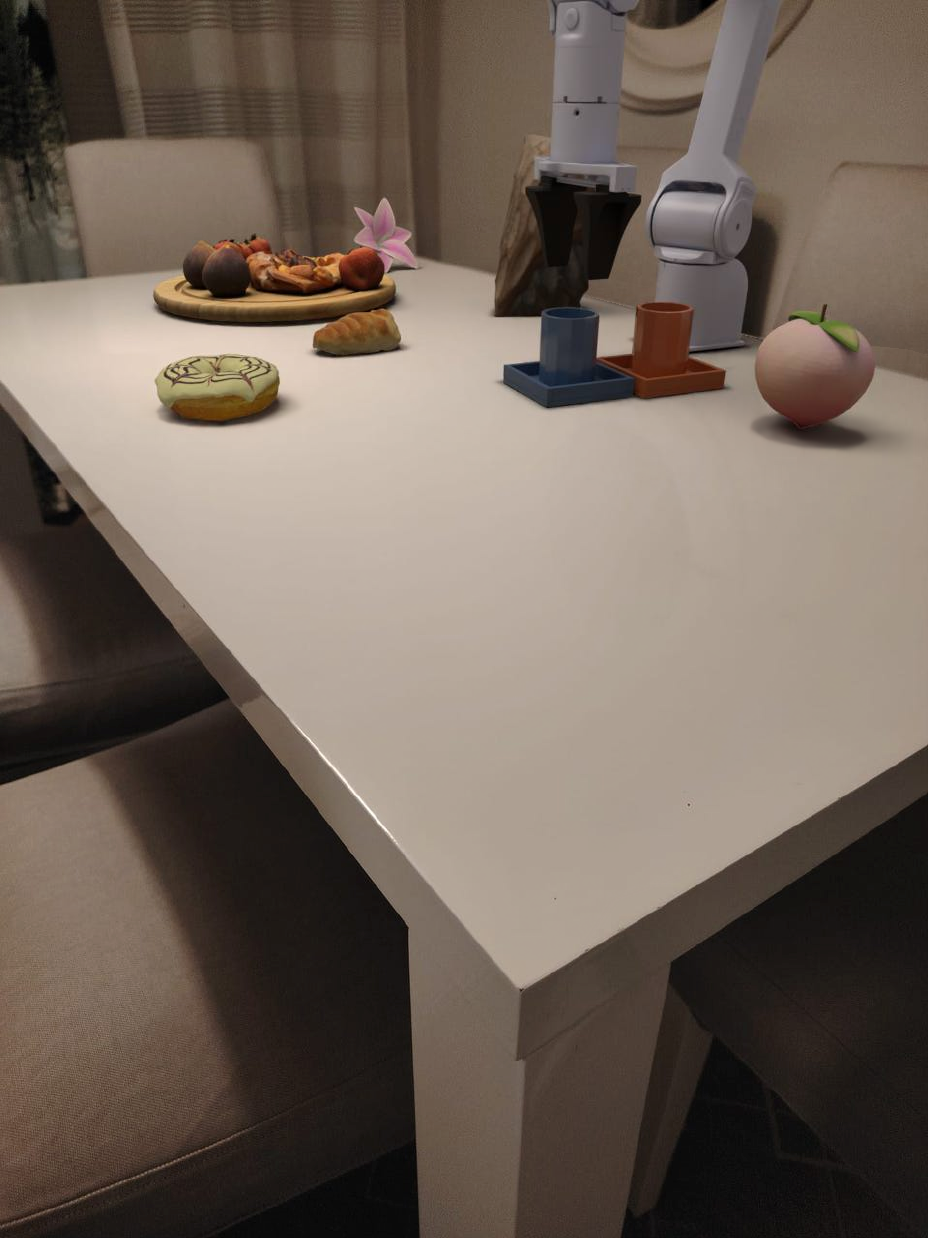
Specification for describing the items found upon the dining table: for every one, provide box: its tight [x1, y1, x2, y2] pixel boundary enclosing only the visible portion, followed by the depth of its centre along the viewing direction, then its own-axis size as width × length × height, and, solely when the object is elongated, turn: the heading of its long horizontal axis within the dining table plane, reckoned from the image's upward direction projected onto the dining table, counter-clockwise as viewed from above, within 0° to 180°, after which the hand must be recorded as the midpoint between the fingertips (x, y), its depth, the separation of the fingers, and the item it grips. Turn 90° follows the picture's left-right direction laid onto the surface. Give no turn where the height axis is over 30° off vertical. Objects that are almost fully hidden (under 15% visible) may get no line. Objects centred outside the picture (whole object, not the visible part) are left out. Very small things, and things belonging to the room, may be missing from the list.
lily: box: [353, 197, 419, 274], centre depth 145 cm, size 12×12×10 cm
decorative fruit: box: [754, 303, 876, 429], centre depth 73 cm, size 9×8×10 cm
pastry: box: [312, 308, 402, 356], centre depth 98 cm, size 9×7×4 cm
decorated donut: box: [154, 353, 281, 422], centre depth 79 cm, size 10×11×4 cm
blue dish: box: [502, 360, 634, 408], centre depth 85 cm, size 9×9×2 cm
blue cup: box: [538, 307, 601, 387], centre depth 84 cm, size 5×5×6 cm
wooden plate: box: [152, 233, 397, 323], centre depth 120 cm, size 32×32×8 cm
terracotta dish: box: [596, 353, 727, 399], centre depth 88 cm, size 9×9×2 cm
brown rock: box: [493, 133, 597, 317], centre depth 114 cm, size 13×13×20 cm
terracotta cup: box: [631, 301, 694, 379], centre depth 86 cm, size 5×5×6 cm
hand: (575, 272), depth 84 cm, fingers open, 7 cm apart
